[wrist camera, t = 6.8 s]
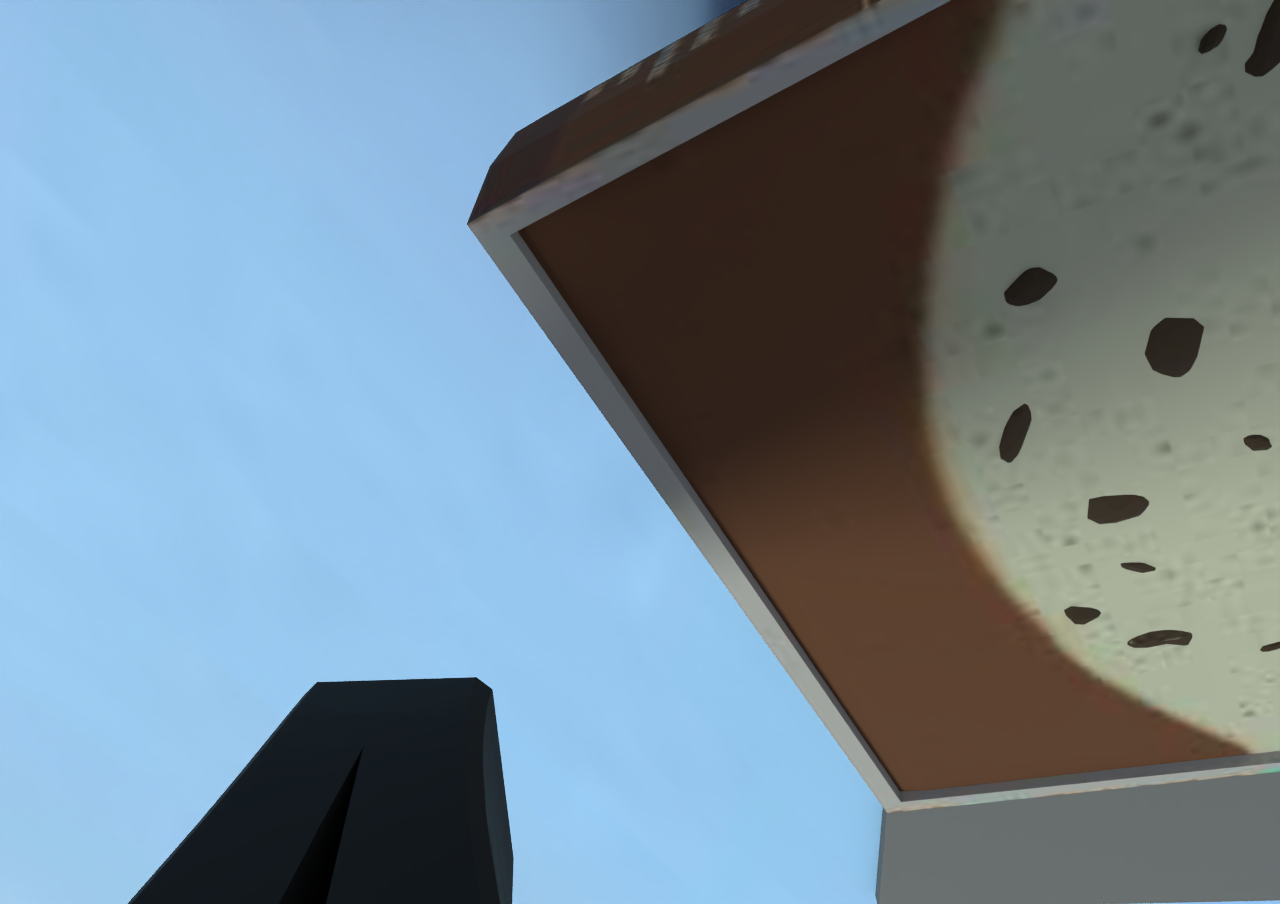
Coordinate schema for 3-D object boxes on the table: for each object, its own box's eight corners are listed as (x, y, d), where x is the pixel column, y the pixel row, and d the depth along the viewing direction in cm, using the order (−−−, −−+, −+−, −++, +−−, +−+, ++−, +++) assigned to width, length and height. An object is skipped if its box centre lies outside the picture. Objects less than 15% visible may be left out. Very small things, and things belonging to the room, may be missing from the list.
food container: (889, 507, 19) (1617, 318, 16) (925, 866, 15) (1936, 726, 11) (493, -250, 12) (1728, -967, 8) (340, 46, 8) (2818, -1193, 4)
